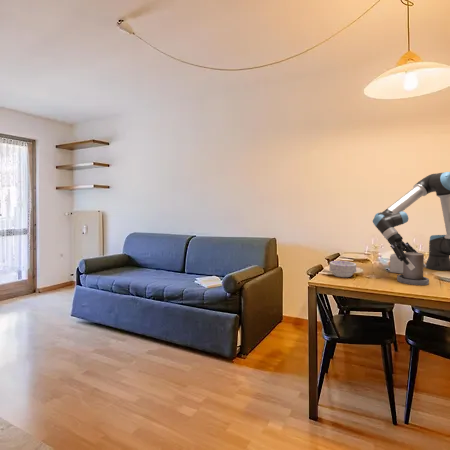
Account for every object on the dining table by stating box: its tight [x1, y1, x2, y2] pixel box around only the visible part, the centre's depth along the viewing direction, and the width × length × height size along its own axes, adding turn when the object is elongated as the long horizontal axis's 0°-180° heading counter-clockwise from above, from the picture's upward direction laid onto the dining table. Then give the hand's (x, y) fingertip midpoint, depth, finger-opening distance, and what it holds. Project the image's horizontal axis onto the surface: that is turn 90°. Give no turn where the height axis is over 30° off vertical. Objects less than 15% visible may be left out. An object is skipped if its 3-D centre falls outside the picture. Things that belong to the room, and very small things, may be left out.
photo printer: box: [389, 253, 403, 275], centre depth 196 cm, size 10×4×12 cm, turn 39°
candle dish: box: [396, 274, 430, 286], centre depth 174 cm, size 15×15×2 cm
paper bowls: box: [329, 260, 357, 278], centre depth 188 cm, size 15×15×8 cm
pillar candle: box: [402, 251, 425, 280], centre depth 173 cm, size 10×10×15 cm
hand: (418, 268), depth 170 cm, fingers closed on pillar candle, 9 cm apart
